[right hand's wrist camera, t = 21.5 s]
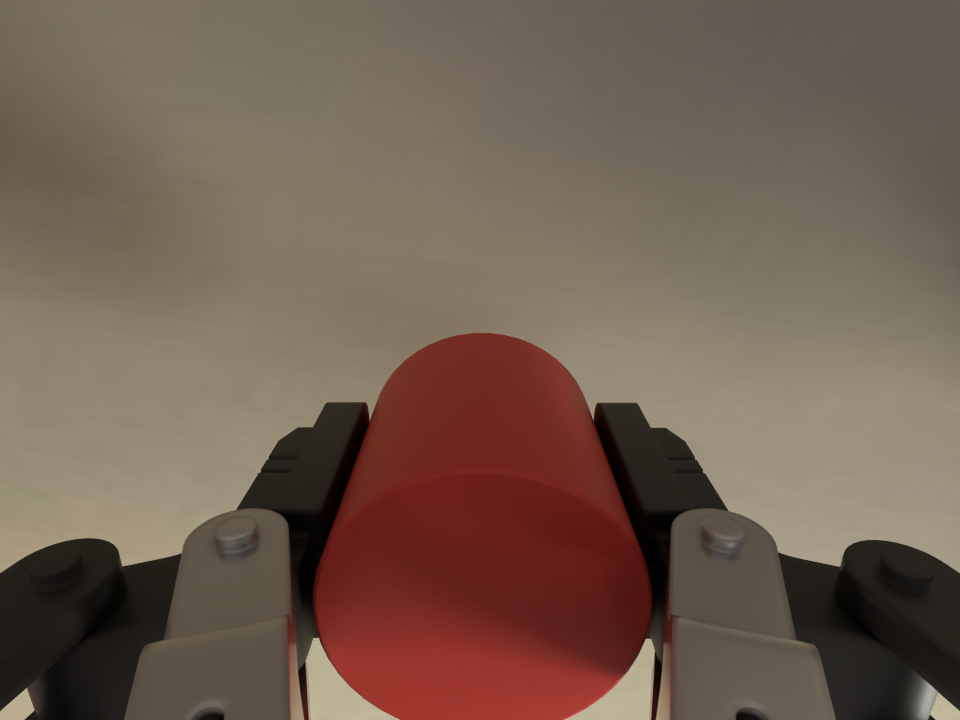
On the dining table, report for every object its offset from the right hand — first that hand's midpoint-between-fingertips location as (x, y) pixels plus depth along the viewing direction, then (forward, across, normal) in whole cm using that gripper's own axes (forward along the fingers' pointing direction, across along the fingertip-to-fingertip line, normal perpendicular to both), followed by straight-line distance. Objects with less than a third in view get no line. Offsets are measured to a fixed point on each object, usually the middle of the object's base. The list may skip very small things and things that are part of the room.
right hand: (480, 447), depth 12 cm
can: (0, 0, 0) cm, 0 cm away
